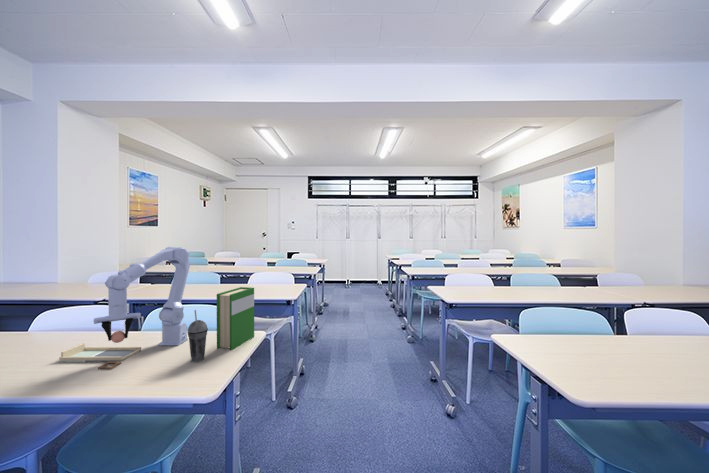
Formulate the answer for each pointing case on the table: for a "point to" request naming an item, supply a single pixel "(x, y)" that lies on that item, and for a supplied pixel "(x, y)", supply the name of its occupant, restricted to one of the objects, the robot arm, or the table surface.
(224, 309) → the hardback book
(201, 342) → the beverage cup
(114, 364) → the open wooden square ring
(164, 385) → the table surface
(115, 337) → the ball
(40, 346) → the table surface
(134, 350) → the tray
